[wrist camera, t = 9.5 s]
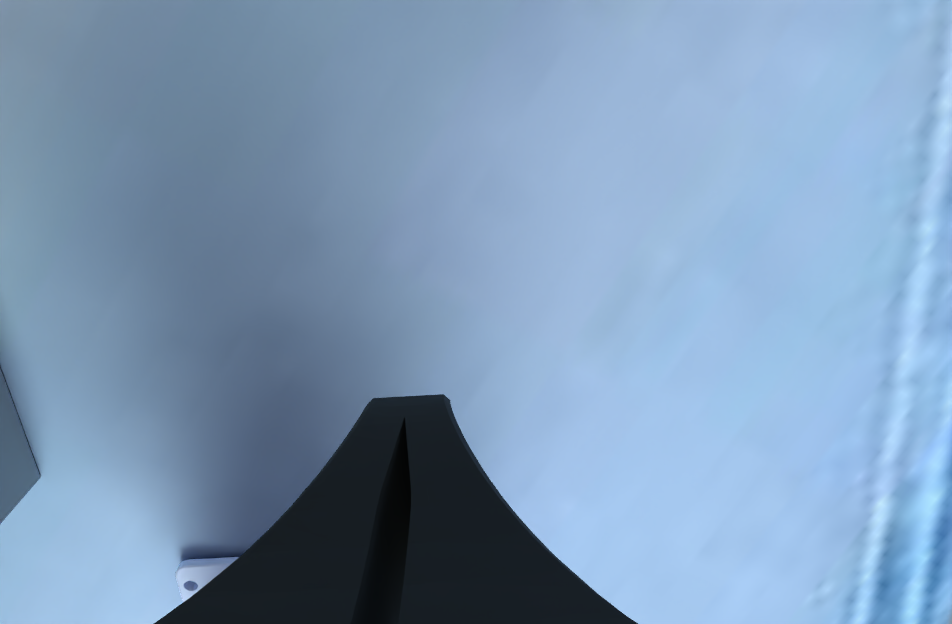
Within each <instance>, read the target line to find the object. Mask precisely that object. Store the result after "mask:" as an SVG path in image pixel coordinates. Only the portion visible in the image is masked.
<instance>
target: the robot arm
mask: <svg viewBox="0 0 952 624" xmlns="http://www.w3.org/2000/svg"><path fill="white" fill-rule="evenodd" d="M175 577H176V580H177V584H178V587H179V591H180V594H181V598H182V601H183V603H182V604H181V605H179V606H178V607H176V608H175V609H174V610H172V611H171V612H170V613H168V614H167V615H166V616H164V617H163V618H161V619H160V620H158V621H157V622H156V623H154V624H638V623H636V622H635V621H633V620H632V619H630V618H629V617H627V616H626V615H624V614H623V613H622V612H620V611H619V610H618V609H617V608H615V607H614V606H613V605H611V604H610V603H609V602H608V601H606V600H605V599H604V598H602V597H601V596H600V595H599V594H597V593H596V592H595V591H594V590H593V589H592V588H590V587H589V586H588V585H587V584H586V583H585V582H584V581H583V580H581V579H580V578H579V577H578V576H577V575H576V574H575V573H574V572H572V571H571V570H570V569H569V568H568V567H567V566H566V565H565V564H563V563H562V562H561V561H560V560H559V559H558V558H557V557H556V556H555V555H554V554H553V553H552V552H551V551H550V550H549V549H548V548H547V547H546V546H545V545H544V544H543V543H542V542H541V541H540V540H539V539H538V538H537V537H536V536H535V535H534V534H533V533H532V532H531V531H530V529H529V528H528V527H527V526H526V525H525V524H524V523H523V521H522V520H521V519H520V518H519V517H518V516H517V515H516V513H515V512H514V511H513V510H512V508H511V507H510V506H509V505H508V503H507V502H506V501H505V500H504V498H503V497H502V496H501V494H500V493H499V492H498V490H497V489H496V487H495V486H494V485H493V483H492V482H491V480H490V479H489V478H488V476H487V475H486V473H485V472H484V470H483V469H482V467H481V465H480V464H479V462H478V460H477V459H476V457H475V455H474V454H473V452H472V450H471V449H470V447H469V445H468V444H467V442H466V440H465V438H464V436H463V434H462V432H461V430H460V428H459V426H458V424H457V421H456V419H455V417H454V414H453V411H452V408H451V404H450V400H449V399H448V398H447V397H446V396H445V395H444V394H442V395H424V396H406V397H388V398H373V399H372V400H371V401H370V402H369V403H368V404H367V406H366V407H365V409H364V411H363V412H362V414H361V416H360V417H359V419H358V420H357V422H356V423H355V425H354V426H353V428H352V429H351V431H350V432H349V434H348V435H347V437H346V438H345V439H344V441H343V442H342V444H341V445H340V446H339V448H338V449H337V450H336V452H335V453H334V454H333V456H332V457H331V458H330V460H329V461H328V462H327V464H326V465H325V466H324V468H323V469H322V470H321V472H320V473H319V474H318V475H317V477H316V478H315V479H314V480H313V481H312V482H311V484H310V485H309V486H308V487H307V488H306V489H305V491H304V492H303V493H302V494H301V495H300V496H299V498H298V499H297V500H296V501H295V502H294V503H293V505H292V506H291V507H290V508H289V509H288V510H287V511H286V512H285V513H284V514H283V515H282V516H281V517H280V519H279V520H278V521H277V522H276V523H275V524H274V525H273V526H272V527H271V528H270V529H269V530H268V531H267V532H266V533H265V534H264V535H263V536H262V537H261V538H260V539H259V540H257V541H256V542H255V543H254V544H253V545H252V546H251V547H250V548H249V549H248V550H247V551H246V552H245V553H244V554H242V555H241V556H240V557H228V558H209V559H189V560H184V561H182V562H181V563H180V564H179V566H178V568H177V570H176V572H175ZM191 581H194V582H195V583H194V582H191Z"/></svg>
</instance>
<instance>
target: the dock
mask: <svg viewBox="0 0 952 624" xmlns="http://www.w3.org/2000/svg"><path fill="white" fill-rule="evenodd" d="M39 479H40V474H39V471H38V469H37V466H36V463H35V461H34V458H33V455H32V452H31V450H30V447H29V444H28V442H27V439H26V436H25V433H24V431H23V428H22V425H21V423H20V420H19V417H18V414H17V412H16V409H15V406H14V404H13V401H12V398H11V395H10V393H9V390H8V387H7V385H6V382H5V379H4V376H3V374H2V371H1V368H0V524H1V523H2V521H3V520H4V519H5V518H6V517H7V516H8V514H9V513H10V512H11V511H12V510H13V509H14V507H15V506H16V505H17V504H18V503H19V502H20V501H21V499H22V498H23V497H24V496H25V495H26V494H27V492H28V491H29V490H30V489H31V488H32V487H33V485H34V484H35V483H36V482H37V481H38V480H39Z"/></svg>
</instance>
